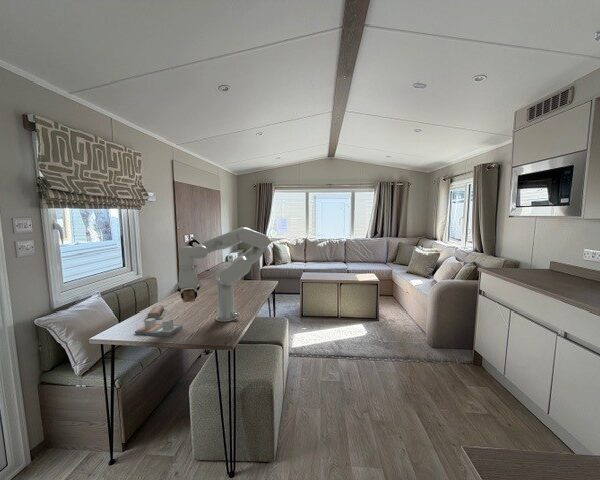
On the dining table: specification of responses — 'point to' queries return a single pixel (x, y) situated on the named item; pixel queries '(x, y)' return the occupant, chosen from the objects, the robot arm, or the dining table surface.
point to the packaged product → (157, 312)
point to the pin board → (159, 328)
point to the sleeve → (188, 295)
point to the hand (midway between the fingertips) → (189, 298)
